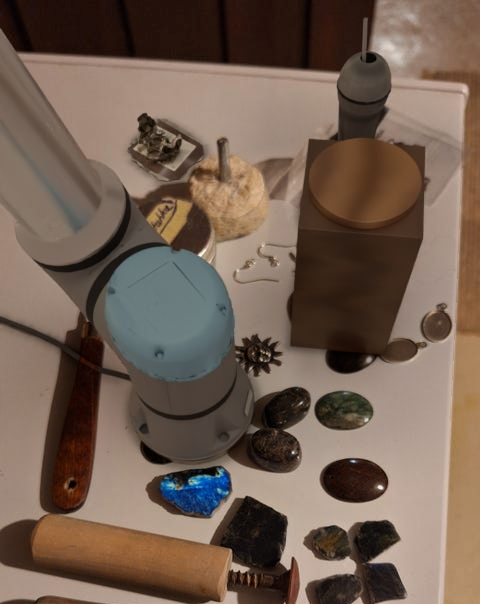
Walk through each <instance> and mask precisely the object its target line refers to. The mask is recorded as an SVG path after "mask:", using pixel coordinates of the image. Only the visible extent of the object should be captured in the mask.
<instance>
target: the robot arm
mask: <svg viewBox="0 0 480 604" xmlns="http://www.w3.org/2000/svg"><path fill="white" fill-rule="evenodd" d="M0 205H1V206H2V207H3V208H4V209H5V210H6V211H7V212H8V213H9V214H10V215H11V217H13V231H14V234H15V239H16V241H17V243H18V245H19V246H20V248H21V249H22V251H24V252H25V253H26V254H27V256H29V257H30V259H31V260H32V261H33V262H34V263H36V265H38V267H40V268H41V269H42V270H43V272H45V273H46V274H47V275H48V276H49V277H50V278H51V279H52V280H53V282H55V283H56V284H57V286H58V287H59V288H60V289H61V290H62V291H63V292H64V293H65V294H66V295H67V296H68V298H69V299H70V300H71V302H72V303H73V304H74V305H75V306H76V308H77V310H79V311H80V313H82V315H83V316H84V317H85V318H86V320H87V321H88V322H89V323H90V325H91V326H92V327H93V328H94V329H95V331H96V332H97V333H98V334H99V336H100V337H101V338H102V339H103V341H104V342H105V343H106V344H107V345H108V347H109V348H110V350H112V352H113V353H114V354H115V355H116V356H117V358H118V359H119V361H120V362H121V363H122V365H123V366H124V368H125V370H126V372H127V373H125V372H121V371H118V370H113V369H111V368H110V369H109V368H105V367H102V366H100V367H101V368H100V372H99V373H100V374H103V375H107V376H111V377H115V378H118V379H121V380H124V381H128V382H131V384H132V385H131V389H130V392H129V399H128V410H129V417H130V421H131V424H132V426H133V429H134V430H135V433H136V435H137V436H138V438H139V439H140V441H141V442H142V443H143V445H144V446H145V447H146V448H147V449H148V450H149V451H151V452H152V453H153V454H155V455H157V456H158V457H160V458H161V459H164V460H166V461H168V462H173V463H176V464H184V465H196V464H197V465H198V464H203V463H209V462H211V461H215V460H217V459H219V458H221V457H223V456H225V455H226V454H228V453H230V452H231V451H232V450H233V449H235V448H236V447H237V446H238V445H239V444H240V443H241V442H242V440H243V439H244V438H245V437H246V435H247V433H248V431H249V430H250V428H251V425H252V423H253V419H254V415H255V392H254V388H253V384H252V381H251V379H250V376H249V375H248V373H247V371H246V370H245V368H244V367H243V366H242V364H241V363H240V362H239V361H238V360H237V355H236V353H237V352H236V342H235V341H236V340H235V329H236V316H235V313H234V312H235V311H234V308H233V304H232V303H233V302H232V299H231V298H230V295H229V291H228V289H227V286H226V284H225V281H224V280H223V278H222V276H221V275H220V274H219V272H218V271H217V269H216V268H215V267H214V266H212V264H210V262H209V261H208V260H206V259H205V258H203V257H202V256H201V255H198V254H197V253H195V252H192V251H191V250H187V249H184V248H181V249H180V250H179V251H177V250H176V249H174V247H173V246H171V244H170V243H169V242H168V241H167V240H166V239H165V238H164V237H163V236H162V235H161V234H160V233H159V231H158V230H156V228H155V227H154V226H153V225H152V224H151V223H150V221H148V219H147V218H146V217H145V216H144V215H143V213H142V211H141V210H140V209H139V207H138V206H137V204H136V203H135V201H134V199H133V198H132V196H131V194H130V193H129V192H128V190H127V188H126V186H125V185H124V184H123V182H122V180H121V178H120V177H119V176H118V175H117V173H116V172H115V170H113V169H112V168H111V167H109V166H108V165H107V164H105V163H103V162H101V161H98V160H96V159H91V158H88V157H87V156H86V154H85V153H84V151H83V150H82V148H81V147H80V145H79V144H78V142H77V141H76V139H75V138H74V137H73V135H72V134H71V131H69V129H68V127H67V126H66V124H65V123H64V122H63V120H62V118H61V117H60V115H59V114H58V112H57V111H56V109H55V108H54V107H53V105H52V104H51V102H50V101H49V99H48V97H47V96H46V95H45V93H44V91H43V90H42V88H41V87H40V85H39V84H38V82H37V80H36V79H35V78H34V77H33V75H32V73H31V72H30V71H29V69H28V68H27V66H26V64H25V63H24V61H23V60H22V59H21V57H20V56H19V54H18V52H17V51H16V50H15V48H14V47H13V45H12V44H11V42H10V40H9V39H8V38H7V36H6V35H5V33H4V31H3V29H2V28H1V27H0ZM0 323H1V324H4V325H7V326H9V327H11V328H14V329H16V330H20V331H22V332H25V333H27V334H29V335H32V336H34V337H37V338H39V339H41V340H43V341H45V342H48V343H49V344H51V345H52V346H55V347H57V349H60V350H62V351H63V352H65V353H66V354H67V355H69V356H70V357H72V359H75V360H76V361H77V362H79V356H81V355H80V354H79V353H77V352H76V351H74V350H73V349H71V348H70V347H69V346H67V345H66V344H64V343H62V342H61V341H59V340H57V339H55V338H54V337H52V336H49V335H47V334H46V333H43V332H41V331H39V330H36V329H34V328H33V327H32V328H31V327H29V326H27V325H24V324H22V323H19V322H17V321H14V320H11V319H9V318H6V317H3V316H1V315H0Z"/></svg>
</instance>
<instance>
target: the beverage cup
mask: <svg viewBox="0 0 480 604" xmlns="http://www.w3.org/2000/svg"><path fill="white" fill-rule="evenodd" d="M368 19H369V18H368V17H364V18H363V21H362V22H363V24H362V48H361V51H359V52H357V53H354V55H351V56H350V57H349V58H348V59H347V61H346V62H345V63H344V65H343V66H342V68H341V70H340V72H339V76H338V77H337V81H336V86H335V87H336V91H337V92H336V93H337V101H338V114H337V115H338V117H337V140H338V141H344V140H349V139H355V138H371V139H375V136H376V134H377V130H378V126H379V123H380V120H381V116H382V113H383V109H384V106H385V105H386V103H387V102H388V99H389V95H390V94H391V92H392V87H393V86H392V85H393V84H392V72H391V68H390V66H389V63H388V61H386V59H385V58H384V56H383V55H381V54H379V53H378V52H376V51H372V50H367V44H368V21H369V20H368Z"/></svg>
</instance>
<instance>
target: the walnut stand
mask: <svg viewBox="0 0 480 604" xmlns="http://www.w3.org/2000/svg"><path fill="white" fill-rule="evenodd" d="M338 142H341V141H338V139H337V140H336V139H335V140H334V139H321V138H308V142H307V143H308V144H307V150H306V151H307V152H306V159H305V165H304V166H305V167H304V175H303V182H302V183H303V184H302V191H301V196H302V199H301V207H300V215H299V214H298V222H297V223H298V225H297V237H296V247H295V248H296V250H295V252H296V253H295V264H294V265H295V266H294V278H293V291H292V307H291V322H290V323H291V324H290V336H289V337H290V338H289V347H292V348H293V347H294V348H296V347H297V348H304V349H315V350H326V351H336V352H344V353H345V352H347V353H356V354H366V355H377V356H385V354H386V350H387V346H388V344H389V341H390V340H391V339H390V338H391V335H392V332H393V330H394V326H395V324H396V321H397V318H398V314H399V312H400V309H401V307H402V303H403V299H404V297H405V294H406V292H407V288H408V285H409V282H410V279H411V275H412V273H413V271H414V268H415V265H416V261H417V260H418V259H417V258H418V255H419V252H420V250H421V247H422V244H423V241H424V231H425V230H424V229H425V227H424V225H425V186H426V185H425V184H426V182H425V181H426V179H425V178H426V146H425V145H411V144H397V143H395V144H394V143H392V144H393V145H395V146H397V147H399V148H401V149H402V150H403V151H405V152H406V153H407V154H408V155H409V156H410V157H411V158H412V159H413V160H414V161H415V163H416V165H417V166H418V169H419V171H420V175H421V183H422V184H421V190H420V193H419V197H418V200H417V202H416V204H415V206H414V207H413V209H412V210H411V211H410V212H409V213H408V214H407V215H406V216H405V217H404V218H402V219H401V220H399V221H397V222H396V223H393V224H391V225H388V226H385V227H381V228H375V229H358V228H351V227H347V226H344V225H341V224H338V223H336V222H334V221H332V220H331V219H329V218H327V217H326V216H325V215H324V214H322V213H321V212H320V211H319V210H318V209H317V207H316V206H315V204H314V203H313V201H312V199H311V196H310V193H309V187H308V185H309V173H310V169H311V166H312V164H313V162H314V161H315V159H316V158H317V157H318V155H319V154H320V153H322V152H323V151H324V150H325V149H327V148H328V147H330V146H332V145H333V144H336V143H338Z"/></svg>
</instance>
